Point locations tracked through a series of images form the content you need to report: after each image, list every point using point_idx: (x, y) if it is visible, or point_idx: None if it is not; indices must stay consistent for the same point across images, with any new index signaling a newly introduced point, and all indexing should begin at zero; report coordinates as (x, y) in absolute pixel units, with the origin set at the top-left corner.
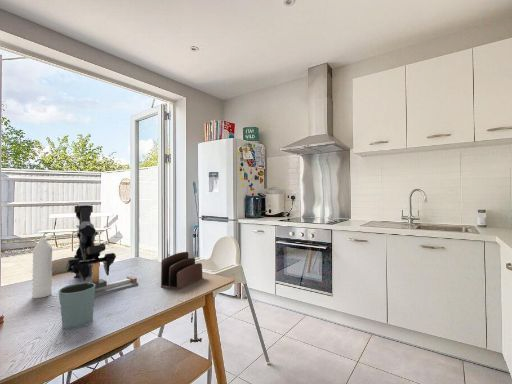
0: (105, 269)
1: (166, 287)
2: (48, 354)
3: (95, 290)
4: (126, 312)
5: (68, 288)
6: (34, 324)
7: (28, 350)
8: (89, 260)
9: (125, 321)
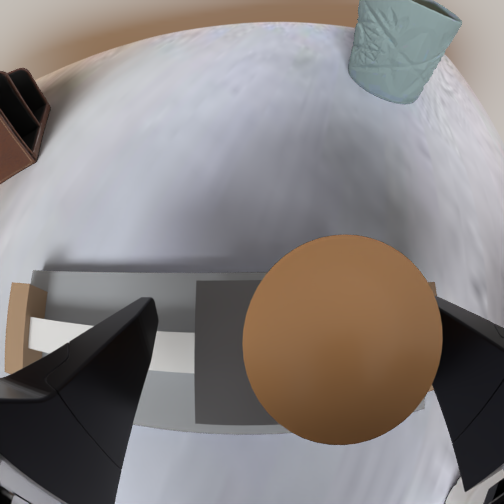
0: (122, 414)
1: (40, 138)
2: None
3: None
4: (257, 49)
5: (446, 24)
6: (482, 158)
7: (443, 71)
8: None
9: (280, 29)
